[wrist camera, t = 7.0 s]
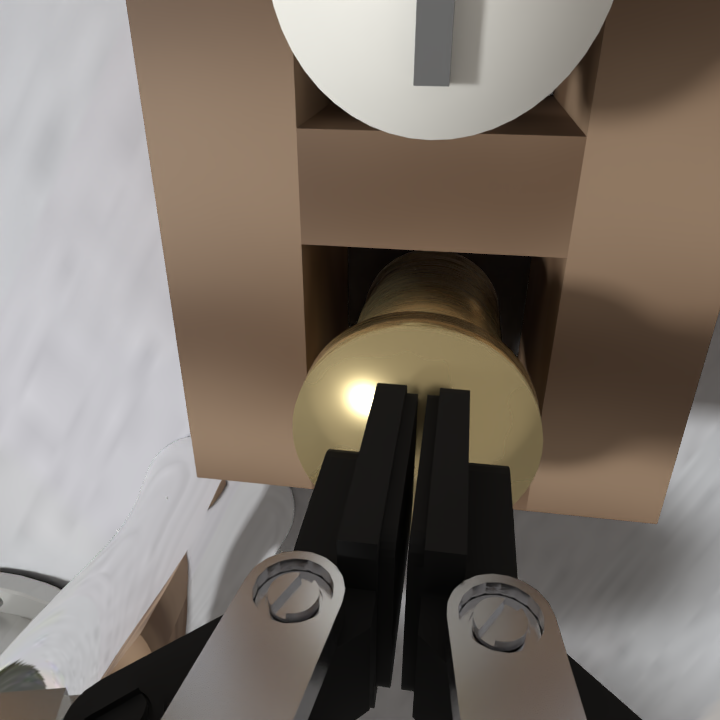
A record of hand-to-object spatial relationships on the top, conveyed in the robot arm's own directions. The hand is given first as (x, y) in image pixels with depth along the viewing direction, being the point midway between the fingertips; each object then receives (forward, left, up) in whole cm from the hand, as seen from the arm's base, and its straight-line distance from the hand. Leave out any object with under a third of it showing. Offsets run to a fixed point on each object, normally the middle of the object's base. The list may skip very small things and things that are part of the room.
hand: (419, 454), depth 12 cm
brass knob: (0, 0, -7) cm, 7 cm away
